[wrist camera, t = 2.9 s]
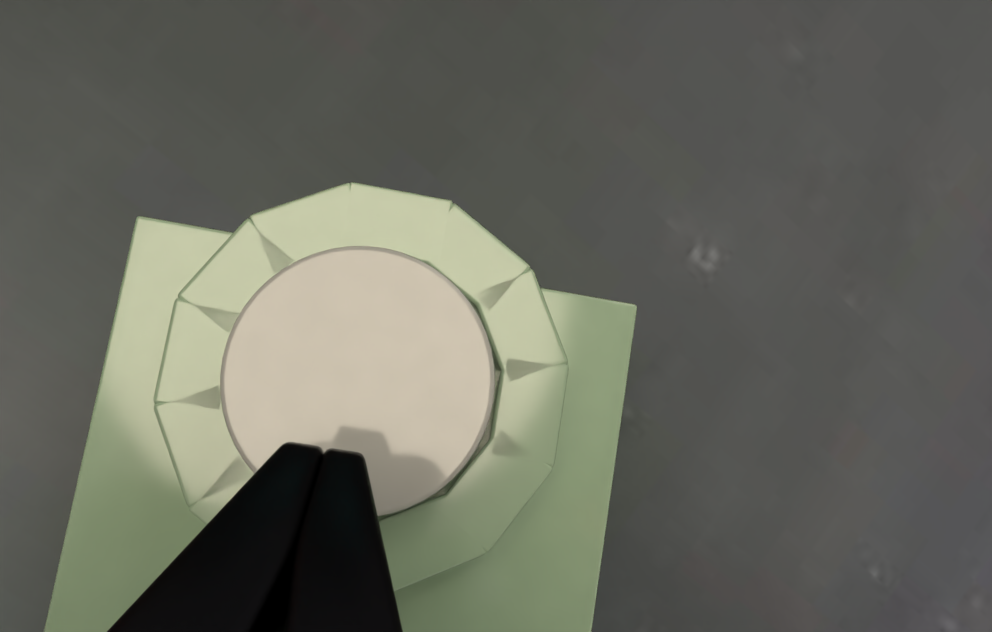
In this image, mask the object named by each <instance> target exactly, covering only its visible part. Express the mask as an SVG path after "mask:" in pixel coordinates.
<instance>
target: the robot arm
mask: <svg viewBox="0 0 992 632" xmlns="http://www.w3.org/2000/svg"><path fill="white" fill-rule="evenodd" d="M107 632H403V630H402V625H401V621H400V616H399V611H398V607H397V602H396V598H395V593H394V588H393V584H392V579H391V575H390V570H389V565H388V561H387V556H386V552H385V547H384V542H383V538H382V533H381V529H380V524H379V520H378V515H377V510H376V506H375V501H374V497H373V492H372V487H371V483H370V478H369V474H368V469H367V464H366V460H365V458H364V456H363V454H361V453H359V452H354V451H348V450H342V449H335V448H329V449H327V450H326V451H325V452H324V451H323V449H322V448H321V447H319V446H316V445H310V444H303V443H297V442H286V443H284V444H282V445H281V446H280V447H279V448H278V449H277V450H276V451H275V452H274V453H273V454H272V455H271V456H270V458H269V459H268V460H267V461H266V462H265V463H264V464H263V465H262V466H261V467H260V468H259V469H258V470H257V471H256V473H255V474H254V475H253V476H252V477H251V478H250V479H249V480H248V481H247V482H246V483H245V484H244V485H243V486H242V487H241V489H240V490H239V491H238V492H237V493H236V494H235V495H234V496H233V497H232V498H231V499H230V500H229V501H228V502H227V504H226V505H225V506H224V507H223V508H222V509H221V510H220V511H219V512H218V513H217V514H216V515H215V516H214V517H213V518H212V520H211V521H210V522H209V523H208V524H207V525H206V526H205V527H204V528H203V529H202V530H201V531H200V532H199V533H198V535H197V536H196V537H195V538H194V539H193V540H192V541H191V542H190V543H189V544H188V545H187V546H186V547H185V548H184V549H183V551H182V552H181V553H180V554H179V555H178V556H177V557H176V558H175V559H174V560H173V561H172V562H171V563H170V564H169V566H168V567H167V568H166V569H165V570H164V571H163V572H162V573H161V574H160V575H159V576H158V577H157V578H156V579H155V580H154V582H153V583H152V584H151V585H150V586H149V587H148V588H147V589H146V590H145V591H144V592H143V593H142V594H141V595H140V597H139V598H138V599H137V600H136V601H135V602H134V603H133V604H132V605H131V606H130V607H129V608H128V609H127V610H126V611H125V613H124V614H123V615H122V616H121V617H120V618H119V619H118V620H117V621H116V622H115V623H114V624H113V625H112V626H111V628H110V629H109V630H108V631H107Z"/></svg>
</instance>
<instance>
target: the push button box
mask: <svg viewBox="0 0 992 632" xmlns="http://www.w3.org/2000/svg"><path fill="white" fill-rule="evenodd" d="M346 246H372V247H381V248H387V249H391V250H395V251H399V252H402V253H405V254H407V255H410V256H413V257H415V258H418V259H419V260H421V261H423V262H425V263H427V264H429V265H430V266H432V267H434V268H435V269H437V270H438V271H439V272H441V273H442V274H443V275H445V276H446V277H447V278H449V279H450V280H451V281H452V282H453V283H454V284H455V285H456V286H457V287H458V288H459V289H460V290H461V291H462V293H463V294H464V295H465V296H466V297H467V299H468V300H469V301H470V302H471V304H472V306H473V307H474V309H475V310H476V312H477V314H478V315H479V317H480V319H481V321H482V323H483V326H484V328H485V330H486V332H487V335H488V339H489V342H490V345H491V348H492V353H493V360H494V366H495V393H494V402H493V407H492V411H491V415H490V420H489V422H488V425H487V428H486V430H485V433H484V436H483V438H482V440H481V441H480V443H479V445H478V447H477V449H476V451H475V453H474V454H473V455H472V457H471V458H470V460H469V461H468V462H467V464H466V465H465V467H464V468H463V469H462V470H461V471H460V472H459V473H458V474H457V475H456V476H455V478H454V479H453V480H452V481H450V482H449V483H448V484H447V485H446V486H444V487H443V488H442V489H441V490H440V491H438V492H437V493H435V494H434V495H432V496H431V497H429V498H427V499H426V500H424V501H423V502H420V503H418V504H416V505H414V506H412V507H410V508H408V509H405V510H402V511H399V512H396V513H393V514H389V515H384V516H378V520H379V524H380V529H381V533H382V538H383V542H384V547H385V552H386V556H387V561H388V565H389V570H390V575H391V579H392V584H393V588H394V593H395V598H396V602H397V607H398V611H399V616H400V621H401V625H402V630H403V632H592V625H593V618H594V610H595V603H596V596H597V589H598V582H599V575H600V568H601V561H602V554H603V547H604V540H605V532H606V525H607V518H608V511H609V504H610V497H611V490H612V483H613V476H614V469H615V461H616V454H617V447H618V440H619V433H620V426H621V419H622V412H623V405H624V398H625V391H626V383H627V376H628V369H629V362H630V355H631V348H632V341H633V334H634V327H635V320H636V313H637V306H636V305H634V304H630V303H625V302H619V301H613V300H608V299H602V298H597V297H591V296H585V295H580V294H574V293H569V292H563V291H558V290H552V289H546V288H541V287H540V285H539V283H538V280H537V277H536V275H535V272H534V271H533V270H532V269H530V266H529V264H528V263H527V262H526V261H524V260H523V259H522V258H521V257H519V256H518V255H517V254H516V253H515V252H513V251H512V250H511V249H510V248H509V247H507V246H506V245H505V244H504V243H503V242H501V241H500V240H499V239H498V238H497V237H495V236H494V235H493V234H492V233H491V232H489V231H488V230H487V229H486V228H485V227H483V226H482V225H481V224H480V223H479V222H477V221H476V220H475V219H474V218H473V217H471V216H470V215H469V214H468V213H467V212H465V211H464V210H463V209H462V208H460V207H459V206H458V205H457V204H454V203H452V201H451V200H446V199H441V198H436V197H430V196H425V195H420V194H414V193H409V192H403V191H398V190H393V189H387V188H382V187H377V186H371V185H366V184H361V183H355V182H351V183H345V184H342V185H339V186H336V187H333V188H330V189H327V190H324V191H321V192H318V193H315V194H312V195H309V196H306V197H303V198H300V199H297V200H294V201H291V202H288V203H285V204H282V205H279V206H276V207H273V208H270V209H267V210H264V211H261V212H258V213H255V214H252V215H251V216H250V218H248V219H246V220H244V222H243V223H242V224H241V225H240V226H239V227H238V228H237V229H236V230H235V231H234V233H233V232H228V231H222V230H216V229H211V228H205V227H200V226H194V225H188V224H183V223H177V222H172V221H166V220H160V219H155V218H149V217H144V216H139V217H137V218H136V221H135V226H134V230H133V235H132V239H131V244H130V248H129V253H128V257H127V261H126V266H125V270H124V275H123V279H122V284H121V288H120V293H119V297H118V302H117V306H116V311H115V315H114V320H113V324H112V329H111V333H110V338H109V342H108V346H107V351H106V355H105V360H104V364H103V369H102V373H101V378H100V382H99V387H98V391H97V396H96V400H95V405H94V409H93V414H92V418H91V423H90V427H89V431H88V436H87V440H86V445H85V449H84V454H83V458H82V463H81V467H80V472H79V476H78V481H77V485H76V490H75V494H74V499H73V503H72V508H71V512H70V516H69V521H68V525H67V530H66V534H65V539H64V543H63V548H62V552H61V557H60V561H59V566H58V570H57V575H56V579H55V584H54V588H53V593H52V597H51V601H50V606H49V610H48V615H47V619H46V624H45V628H44V632H107V631H108V630H109V629H110V628H111V626H112V625H113V624H114V623H115V622H116V621H117V620H118V619H119V618H120V617H121V616H122V615H123V614H124V613H125V611H126V610H127V609H128V608H129V607H130V606H131V605H132V604H133V603H134V602H135V601H136V600H137V599H138V598H139V597H140V595H141V594H142V593H143V592H144V591H145V590H146V589H147V588H148V587H149V586H150V585H151V584H152V583H153V582H154V580H155V579H156V578H157V577H158V576H159V575H160V574H161V573H162V572H163V571H164V570H165V569H166V568H167V567H168V566H169V564H170V563H171V562H172V561H173V560H174V559H175V558H176V557H177V556H178V555H179V554H180V553H181V552H182V551H183V549H184V548H185V547H186V546H187V545H188V544H189V543H190V542H191V541H192V540H193V539H194V538H195V537H196V536H197V535H198V533H199V532H200V531H201V530H202V529H203V528H204V527H205V526H206V525H207V524H208V523H209V522H210V521H211V520H212V518H213V517H214V516H215V515H216V514H217V513H218V512H219V511H220V510H221V509H222V508H223V507H224V506H225V505H226V504H227V502H228V501H229V500H230V499H231V498H232V497H233V496H234V495H235V494H236V493H237V492H238V491H239V490H240V489H241V487H242V486H243V485H244V484H245V483H246V482H247V481H248V480H249V479H250V478H251V477H252V476H253V475H254V473H253V472H252V470H251V469H250V468H249V467H248V465H247V464H246V463H245V462H244V460H243V459H242V457H241V455H240V454H239V452H238V450H237V449H236V447H235V445H234V443H233V441H232V438H231V436H230V434H229V431H228V429H227V426H226V422H225V418H224V415H223V411H222V404H221V396H220V372H221V365H222V357H223V353H224V350H225V346H226V343H227V339H228V337H229V334H230V332H231V330H232V327H233V325H234V323H235V321H236V319H237V318H238V316H239V314H240V312H241V311H242V309H243V307H244V306H245V305H246V303H247V302H248V301H249V300H250V298H251V297H252V296H253V294H254V293H255V292H256V291H257V290H258V289H259V288H260V287H261V286H262V285H263V284H264V283H265V282H266V281H267V280H268V279H270V278H271V277H272V276H274V275H275V274H276V273H278V272H279V271H280V270H282V269H283V268H285V267H287V266H288V265H290V264H292V263H294V262H295V261H297V260H299V259H302V258H304V257H307V256H309V255H311V254H314V253H317V252H321V251H325V250H328V249H332V248H339V247H346Z"/></svg>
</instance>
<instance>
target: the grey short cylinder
mask: <svg viewBox="0 0 992 632" xmlns="http://www.w3.org/2000/svg"><path fill="white" fill-rule="evenodd" d="M494 393H495V366H494V360H493V353H492V348H491V345H490V342H489V339H488V335H487V332H486V330H485V328H484V326H483V323H482V321H481V319H480V317H479V315H478V314H477V312H476V310H475V309H474V307H473V306H472V304H471V302H470V301H469V300H468V299H467V297H466V296H465V295H464V294H463V293H462V291H461V290H460V289H459V288H458V287H457V286H456V285H455V284H454V283H453V282H452V281H451V280H450V279H449V278H447V277H446V276H445V275H443V274H442V273H441V272H439V271H438V270H437V269H435V268H434V267H432V266H430V265H429V264H427V263H425V262H423V261H421V260H419V259H418V258H415V257H413V256H410V255H407V254H405V253H402V252H399V251H395V250H391V249H387V248H381V247H372V246H346V247H339V248H332V249H328V250H325V251H321V252H317V253H314V254H311V255H309V256H307V257H304V258H302V259H299V260H297V261H295V262H294V263H292V264H290V265H288V266H287V267H285V268H283V269H282V270H280V271H279V272H278V273H276V274H275V275H274V276H272V277H271V278H270V279H268V280H267V281H266V282H265V283H264V284H263V285H262V286H261V287H260V288H259V289H258V290H257V291H256V292H255V293H254V294H253V296H252V297H251V298H250V300H249V301H248V302H247V303H246V305H245V306H244V307H243V309H242V311H241V312H240V314H239V316H238V318H237V319H236V321H235V323H234V325H233V327H232V330H231V332H230V334H229V337H228V339H227V343H226V346H225V350H224V353H223V357H222V365H221V372H220V396H221V404H222V411H223V415H224V418H225V422H226V426H227V429H228V431H229V434H230V436H231V438H232V441H233V443H234V445H235V447H236V449H237V450H238V452H239V454H240V455H241V457H242V459H243V460H244V462H245V463H246V464H247V465H248V467H249V468H250V469H251V470H252V472H253V473H254V474H255V473H256V471H257V470H258V469H259V468H260V467H261V466H262V465H263V464H264V463H265V462H266V461H267V460H268V459H269V458H270V456H271V455H272V454H273V453H274V452H275V451H276V450H277V449H278V448H279V447H280V446H281V445H282V444H284V443H286V442H297V443H303V444H310V445H316V446H319V447H321V448H322V449H323V451H324V452H325V451H326V450H327V449H329V448H335V449H342V450H348V451H354V452H359V453H361V454H363V456H364V458H365V460H366V464H367V469H368V474H369V478H370V483H371V487H372V492H373V497H374V501H375V506H376V510H377V515H378V516H384V515H389V514H393V513H396V512H399V511H402V510H405V509H408V508H410V507H412V506H414V505H416V504H418V503H420V502H423V501H424V500H426V499H427V498H429V497H431V496H432V495H434V494H435V493H437V492H438V491H440V490H441V489H442V488H443V487H444V486H446V485H447V484H448V483H449V482H450V481H452V480H453V479H454V478H455V476H456V475H457V474H458V473H459V472H460V471H461V470H462V469H463V468H464V467H465V465H466V464H467V462H468V461H469V460H470V458H471V457H472V455H473V454H474V453H475V451H476V449H477V447H478V445H479V443H480V441H481V440H482V438H483V436H484V433H485V430H486V428H487V425H488V422H489V420H490V415H491V411H492V407H493V402H494Z"/></svg>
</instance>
